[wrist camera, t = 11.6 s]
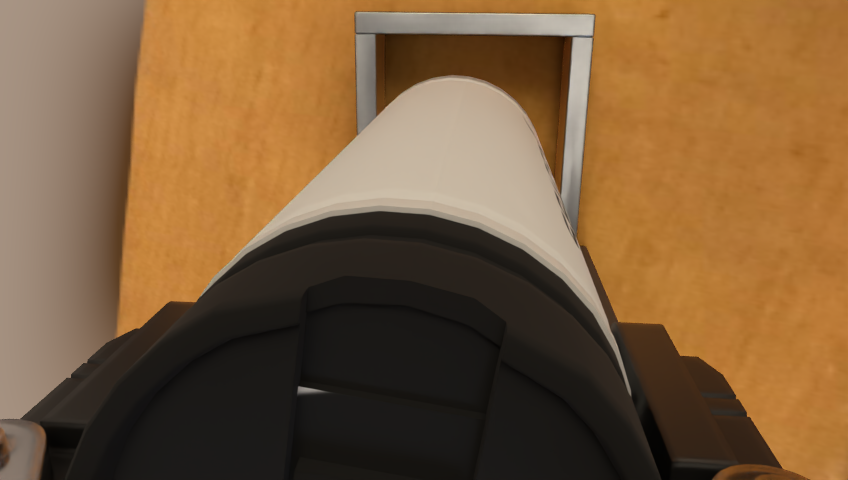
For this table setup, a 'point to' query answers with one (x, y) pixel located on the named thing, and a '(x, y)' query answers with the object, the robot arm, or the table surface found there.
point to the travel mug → (392, 326)
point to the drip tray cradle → (490, 24)
